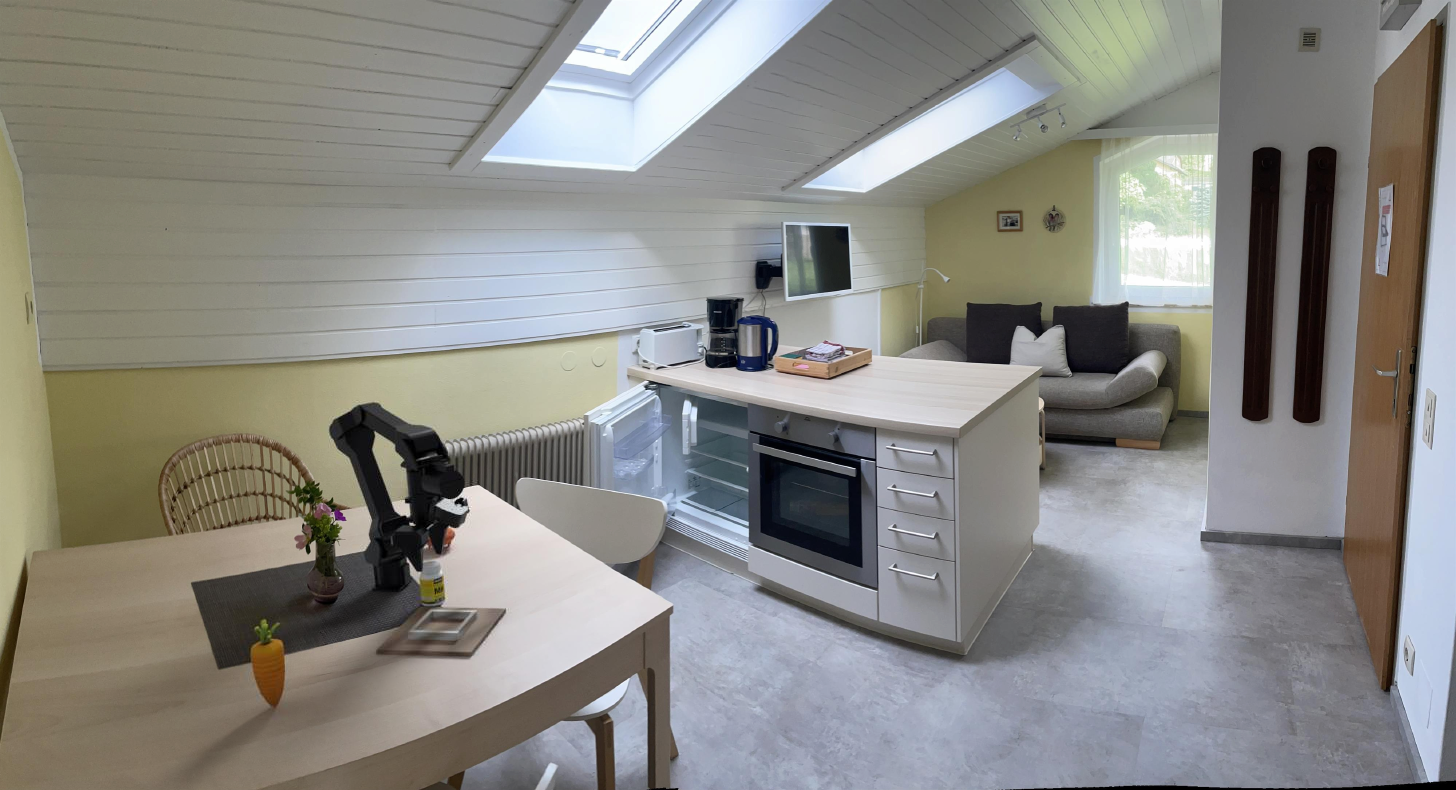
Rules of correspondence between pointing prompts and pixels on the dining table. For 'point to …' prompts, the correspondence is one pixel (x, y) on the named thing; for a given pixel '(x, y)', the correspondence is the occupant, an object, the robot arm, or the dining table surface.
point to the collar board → (443, 631)
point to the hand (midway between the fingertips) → (429, 562)
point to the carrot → (268, 664)
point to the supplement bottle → (432, 584)
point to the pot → (449, 537)
